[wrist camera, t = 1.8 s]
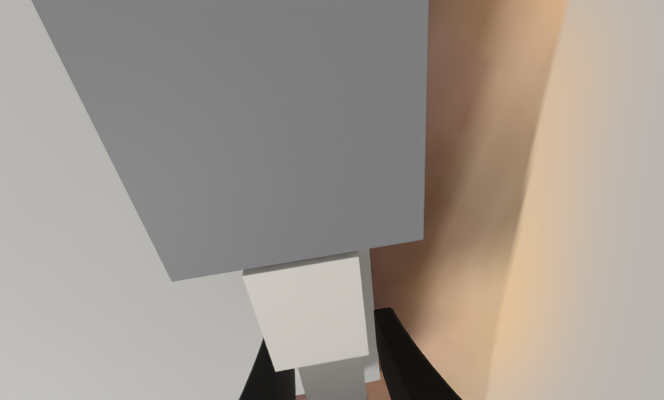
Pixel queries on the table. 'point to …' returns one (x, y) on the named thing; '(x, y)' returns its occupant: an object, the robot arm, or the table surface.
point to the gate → (264, 149)
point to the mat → (101, 260)
